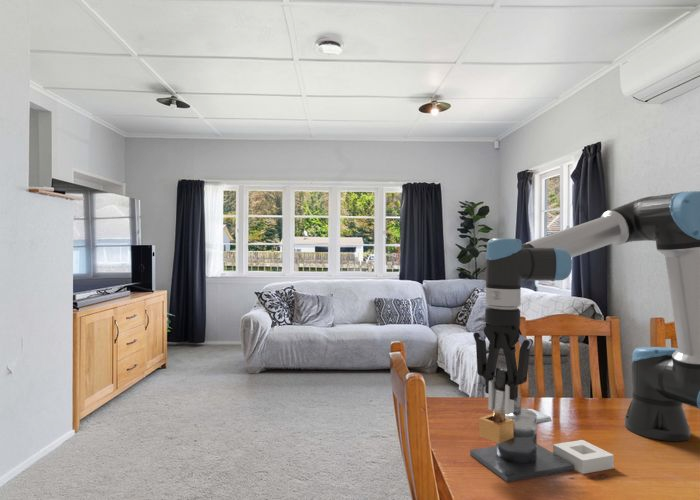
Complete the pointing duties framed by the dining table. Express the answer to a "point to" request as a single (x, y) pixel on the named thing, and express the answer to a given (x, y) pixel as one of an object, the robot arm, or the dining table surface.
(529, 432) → the grey and tan piece
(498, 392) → the black and grey rod
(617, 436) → the dining table surface
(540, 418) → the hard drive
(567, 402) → the dining table surface
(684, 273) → the robot arm
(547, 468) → the dark square base plate
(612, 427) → the dining table surface
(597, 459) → the white flat square block
